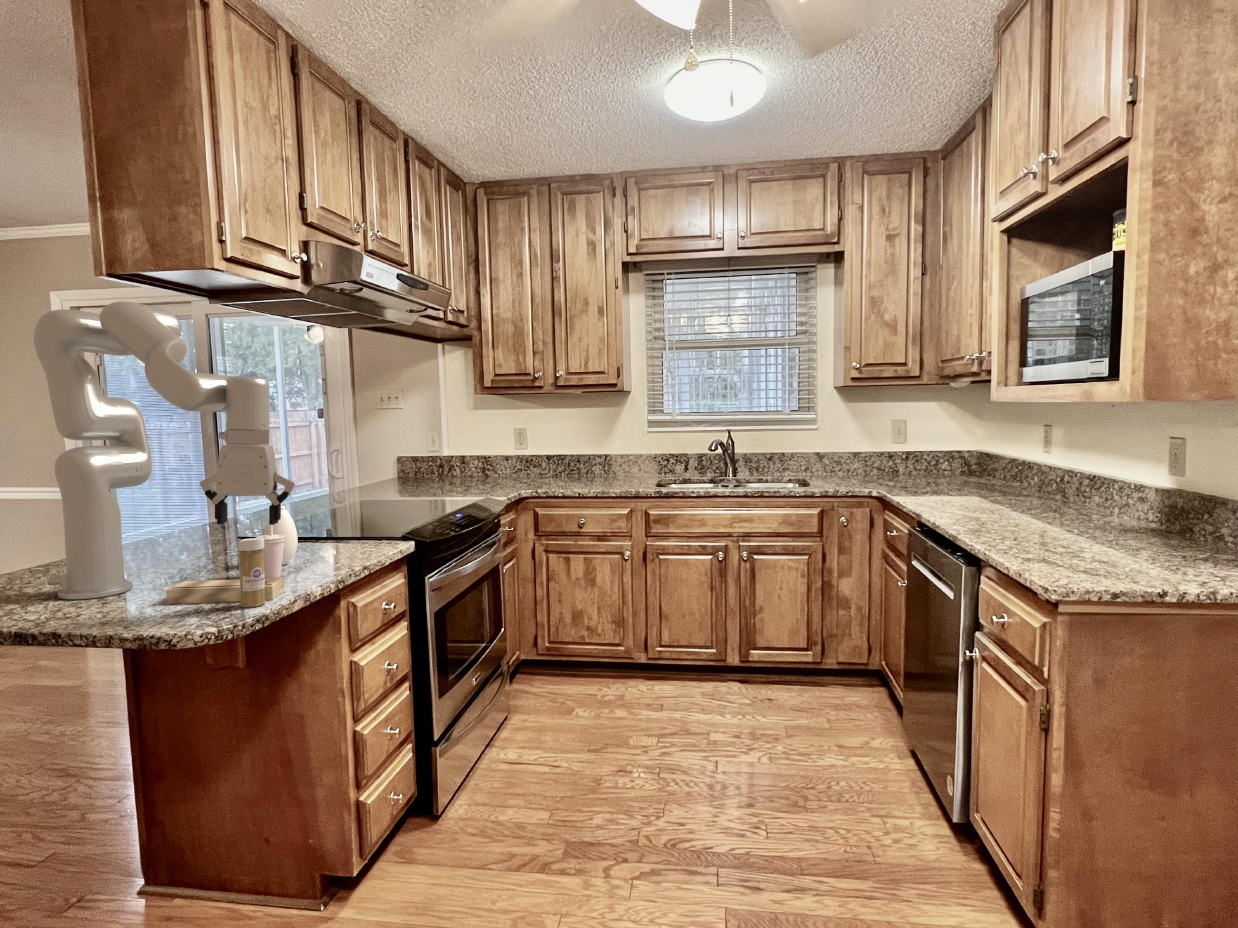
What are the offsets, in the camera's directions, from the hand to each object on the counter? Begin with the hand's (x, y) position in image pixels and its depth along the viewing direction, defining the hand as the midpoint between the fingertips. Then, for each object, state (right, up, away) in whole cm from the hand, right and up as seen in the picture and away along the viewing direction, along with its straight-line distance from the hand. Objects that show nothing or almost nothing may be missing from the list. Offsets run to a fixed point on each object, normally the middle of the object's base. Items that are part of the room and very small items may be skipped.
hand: (248, 523), depth 131 cm
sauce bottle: (-13, -14, +37) cm, 42 cm away
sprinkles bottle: (0, -17, +1) cm, 17 cm away
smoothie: (-9, -15, +25) cm, 31 cm away
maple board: (-8, -16, +6) cm, 19 cm away
